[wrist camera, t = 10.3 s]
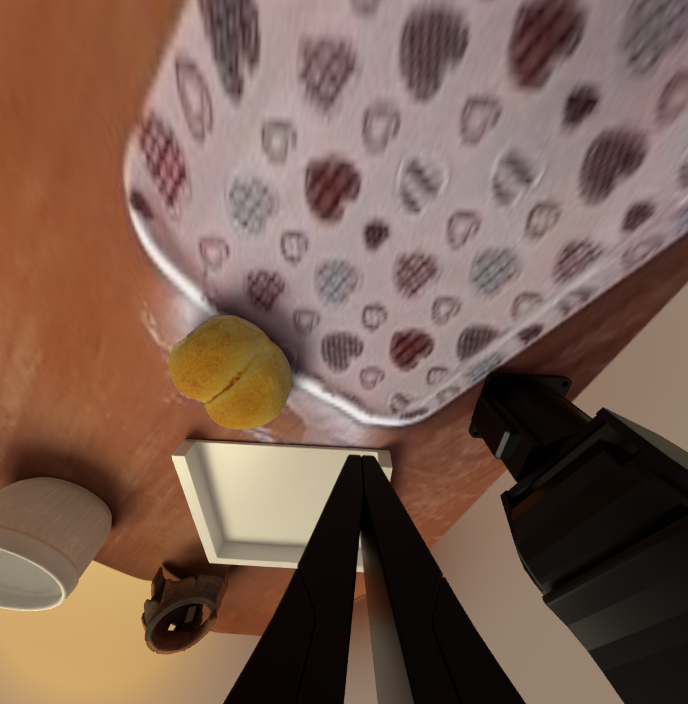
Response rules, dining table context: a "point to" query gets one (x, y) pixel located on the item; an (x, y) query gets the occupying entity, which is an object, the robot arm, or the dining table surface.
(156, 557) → the dining table surface
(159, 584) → the pottery mug
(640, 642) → the robot arm
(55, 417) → the dining table surface
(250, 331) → the bread roll
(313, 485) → the tray
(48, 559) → the ramekin
